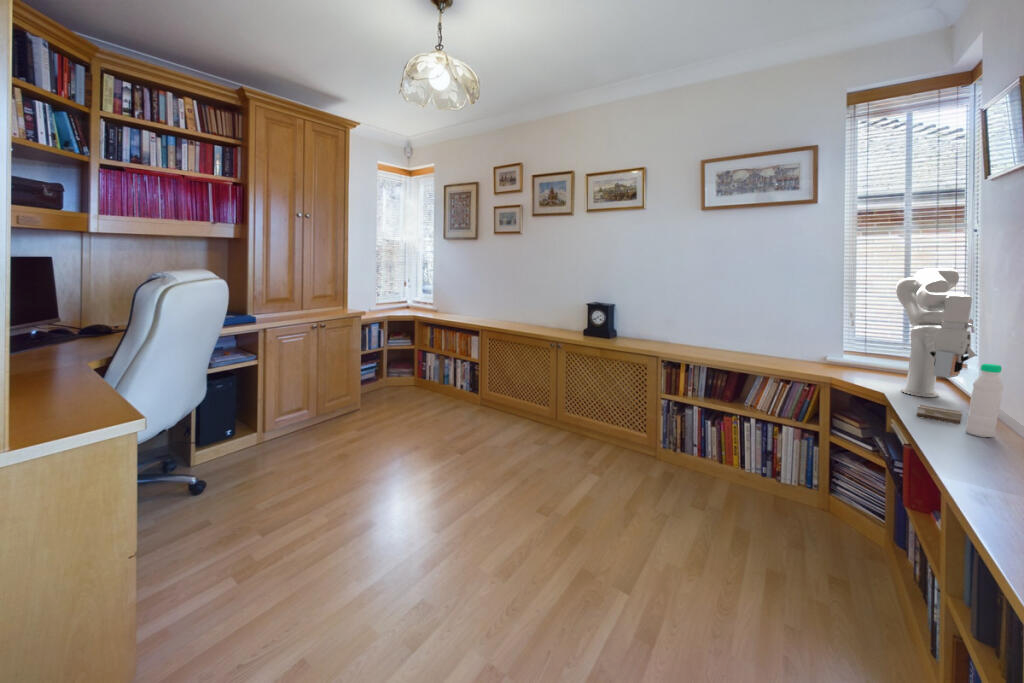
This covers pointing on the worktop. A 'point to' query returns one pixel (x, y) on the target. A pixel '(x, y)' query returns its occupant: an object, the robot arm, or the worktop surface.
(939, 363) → the tea carton
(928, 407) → the shelf board
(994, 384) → the milk bottle
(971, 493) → the worktop surface
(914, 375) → the robot arm
